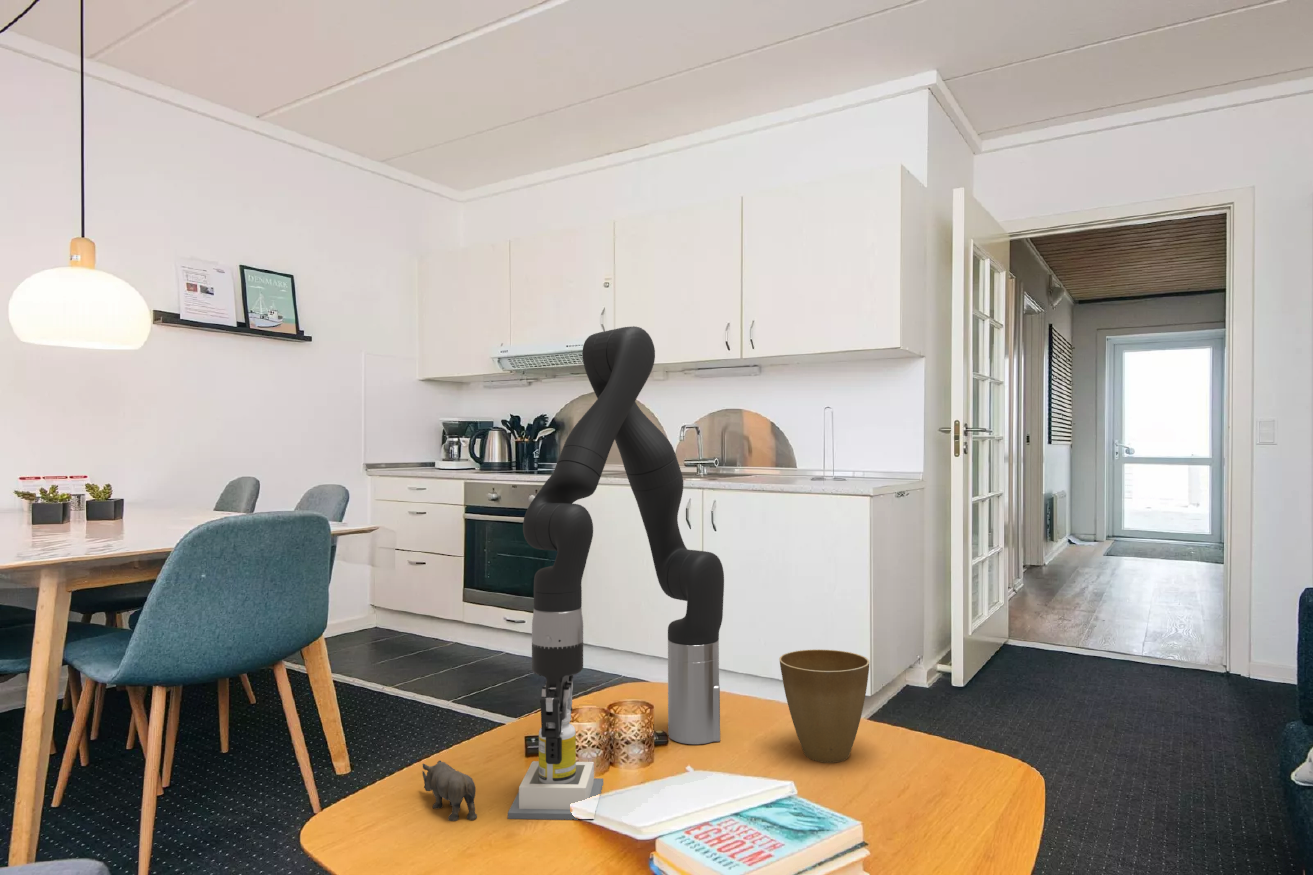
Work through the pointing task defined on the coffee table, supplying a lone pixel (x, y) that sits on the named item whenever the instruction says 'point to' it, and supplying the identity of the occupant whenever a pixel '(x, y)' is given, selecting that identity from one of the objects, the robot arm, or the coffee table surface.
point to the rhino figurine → (450, 788)
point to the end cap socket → (553, 794)
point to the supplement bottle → (567, 767)
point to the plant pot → (825, 699)
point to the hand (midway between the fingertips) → (557, 754)
